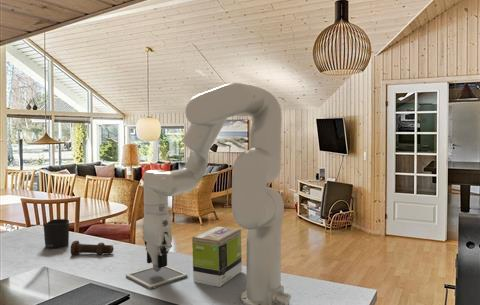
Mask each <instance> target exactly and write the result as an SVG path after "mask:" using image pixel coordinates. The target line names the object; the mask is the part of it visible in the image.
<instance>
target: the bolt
mask: <svg viewBox="0 0 480 305" xmlns="http://www.w3.org/2000/svg"><path fill="white" fill-rule="evenodd" d="M113 251H114V245H112V244H111V245H110V244H105V242H99V243H97V244H87V243H86V244H85V243H80V241H79V240H74V241H72V242H71V245H70V255H71V256H75V257H76V255H78V254H87V253H88V254H96V256H103V255H104V254H105V255H106V254H109V255H111V254H113Z"/></svg>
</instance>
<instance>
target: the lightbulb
mask: <svg viewBox="0 0 480 305" xmlns="http://www.w3.org/2000/svg"><path fill="white" fill-rule="evenodd" d="M163 244H164V243H162V245H163ZM163 248H164V246H163V247H161V249H163ZM147 251H148V253H149V255H150V256H151V259H152V263H151V264H152V267H153V270H154V271H156V272H158V271H159V270H161V268H158V255H159V252H158V247H157V246H156V245H154V244H153V243H152V242H148V244H147ZM147 251H146V252H147Z"/></svg>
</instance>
